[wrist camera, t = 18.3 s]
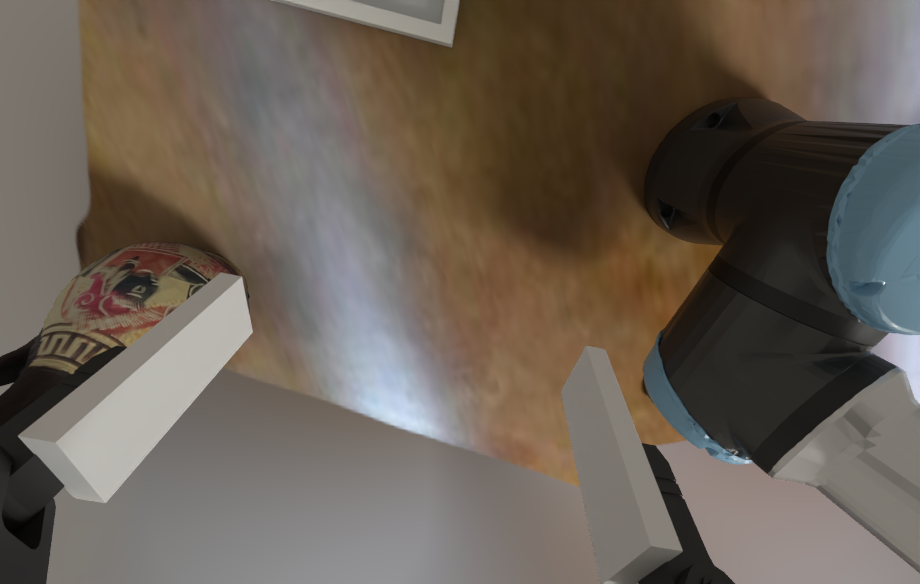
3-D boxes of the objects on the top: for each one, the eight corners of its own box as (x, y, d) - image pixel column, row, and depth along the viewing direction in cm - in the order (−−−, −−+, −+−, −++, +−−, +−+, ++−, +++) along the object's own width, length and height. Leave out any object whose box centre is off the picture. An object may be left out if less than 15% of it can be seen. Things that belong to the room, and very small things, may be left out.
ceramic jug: (282, 252, 44) (22, 471, 18) (261, 342, 51) (49, 596, 25) (137, 196, 41) (-444, 362, 15) (134, 299, 48) (-268, 541, 21)
